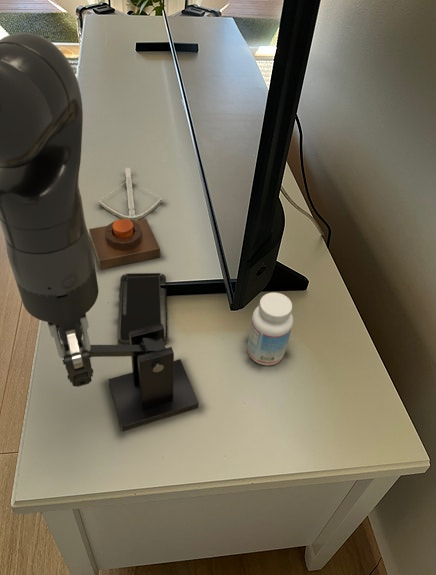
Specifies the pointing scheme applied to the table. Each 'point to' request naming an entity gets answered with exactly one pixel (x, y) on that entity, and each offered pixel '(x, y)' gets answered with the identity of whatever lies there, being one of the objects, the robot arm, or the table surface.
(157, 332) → the bracket
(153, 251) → the button block
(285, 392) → the table surface
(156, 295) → the phone
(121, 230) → the button
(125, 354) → the lever
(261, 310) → the pill bottle
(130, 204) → the crossbow
